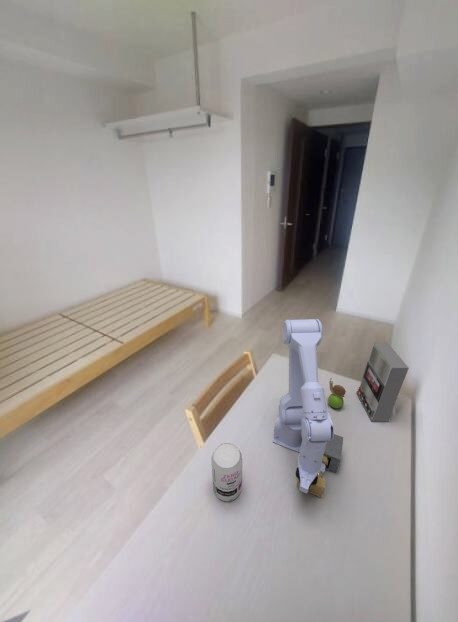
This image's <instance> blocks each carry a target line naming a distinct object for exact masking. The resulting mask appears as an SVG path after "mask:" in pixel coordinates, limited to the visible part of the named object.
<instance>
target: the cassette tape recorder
mask: <svg viewBox="0 0 458 622" xmlns="http://www.w3.org/2000/svg"><path fill="white" fill-rule="evenodd" d="M409 368H410V367H409V366H408V365H407V364H406V363H405V362H404V360H403V359H402V358H401V357H400V355H399V354H398V353H397V352H396V351H395V350H394V348H393V347H392V346H391V344H390V343H389V342H372V346H371V349H370V352H369V356H368V358H367V361H366V366H365V369H364V371H363V372H364V373H363V374H362V379H361V383H360V385H359V387H358V389H357V390H356V395H357V397H358V399H359V400H360V402H361V405H362V406H363V408H364V411H365V412H366V414H367V416H368V418H369V420H370V422H372V423H373V422H374V423H375V422H378V423H379V422H380V423H388V422H389V420H390V416H391V413H392V411H393V408H394V407H395V404H396V401H397V399H398V396H399V394H400V391H401V389H402V386H403V383H404V381H405V380H406V376H407V374H408V371H409Z"/></svg>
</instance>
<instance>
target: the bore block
mask: <svg viewBox="0 0 458 622" xmlns="http://www.w3.org/2000/svg"><path fill="white" fill-rule="evenodd" d="M343 443H344V436H341V435H339V434H335V433H334V438H333V440H329V441H327V443H326V447H325V451H324V455H323V456H326V457H329V459H328V465H327V466H325V471H328V472H331V473H333V474H335V475H337V474H338V471H339V468H340V464H341V461H342V453H343Z"/></svg>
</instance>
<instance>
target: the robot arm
mask: <svg viewBox="0 0 458 622" xmlns="http://www.w3.org/2000/svg"><path fill="white" fill-rule="evenodd" d="M323 333H324V331H323V323H322V322H321V320H319V318H311V319H309V318H308V319H305V318H304V319H285V320H284V322H283V323H282V343H283V344H284V345H288V392H287V393H285V394H284V395H282V396H281V397H280V399H279V404H278V414H277V417H276V420H275V423H274V430H273V437H272V438H273V439H272V442H273V443H274V444H277V445H279V446H281V447H285V448H286V449H289V450H292V451H294V452H295V453H296V452H297V453H299V455H298V457H297V467H296V470H295V477H296V478H297V480H298V479H299V482H300V488H298V490H299V491H300V492H302V493H305V494H308V493H309V492H308V489H309V487H310V486H311V485H316V484H317V481H318V477H317V474H318V473H319V472H322V473H325V471H326V470H325V464H323V463H322V459H323V455H324V451H325V447H326V443H327V441H329V440H333V438H334V434H335V427H334V423H333V421H332V417H331V414H330V411H329V412H328V410H327V401H326V395H325V388H324V386H323V385H322V384H321V383H319V369H318V367H319V366H318V351H317V350H318V349H317V348H318V346H319V345H320V344H321V343H322V342H321V341H322V337H323V335H324V334H323Z"/></svg>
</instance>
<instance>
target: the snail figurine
mask: <svg viewBox="0 0 458 622" xmlns="http://www.w3.org/2000/svg"><path fill="white" fill-rule="evenodd" d="M328 383H329V391H330V393H331V394H329V396H328V398H327V399H328V401H327V402H328V404H329V405H330V407H332V408H334V409H340V408H342V407H343V405H344V398H345V395H346V392H347V391H346V388H345V387H344V386H342V385H340V384H335V385H333V384H334V382H333V380H332V377H330V379H329V382H328Z"/></svg>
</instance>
